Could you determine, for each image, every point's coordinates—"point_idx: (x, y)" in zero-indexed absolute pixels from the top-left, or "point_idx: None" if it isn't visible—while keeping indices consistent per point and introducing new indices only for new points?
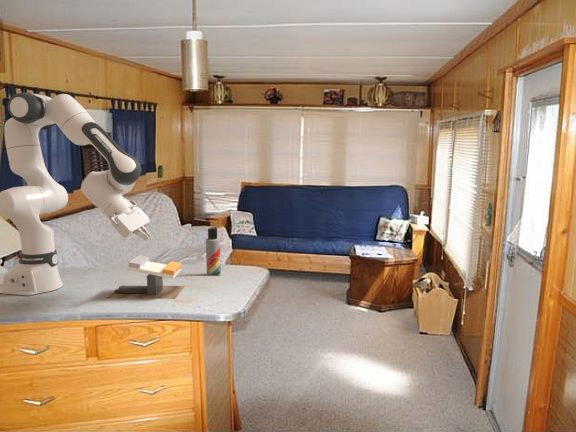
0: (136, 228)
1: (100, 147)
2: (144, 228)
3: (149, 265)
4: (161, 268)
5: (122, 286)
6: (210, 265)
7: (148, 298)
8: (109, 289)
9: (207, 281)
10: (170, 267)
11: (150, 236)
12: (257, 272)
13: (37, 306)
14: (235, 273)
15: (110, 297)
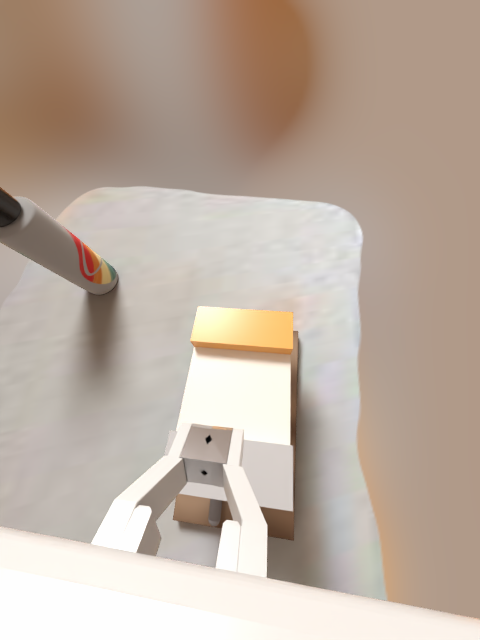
0: (378, 608)
1: None
2: (139, 508)
3: (228, 415)
4: (240, 367)
5: (217, 508)
6: (96, 270)
7: (296, 400)
8: None
9: (147, 287)
10: (261, 329)
11: (192, 423)
12: (105, 199)
13: None
14: (101, 238)
15: (288, 526)
